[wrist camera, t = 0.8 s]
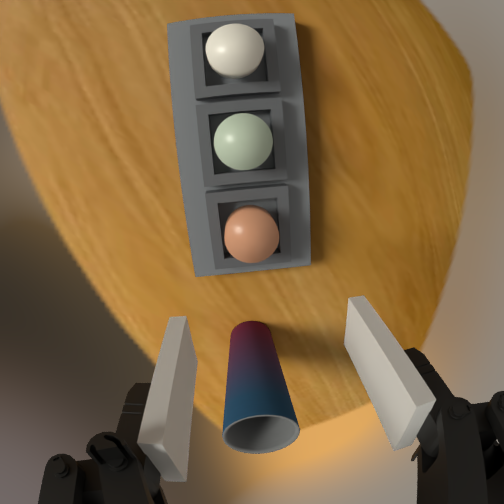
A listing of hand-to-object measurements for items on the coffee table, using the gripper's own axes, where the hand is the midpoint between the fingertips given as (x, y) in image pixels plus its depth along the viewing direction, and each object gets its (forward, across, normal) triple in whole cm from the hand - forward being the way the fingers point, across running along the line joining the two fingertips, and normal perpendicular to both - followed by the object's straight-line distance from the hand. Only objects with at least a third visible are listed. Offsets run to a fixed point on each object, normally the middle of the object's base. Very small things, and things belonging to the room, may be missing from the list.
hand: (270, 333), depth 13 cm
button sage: (+15, 0, +8) cm, 17 cm away
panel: (+19, 0, +8) cm, 21 cm away
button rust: (+15, 0, 0) cm, 15 cm away
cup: (+19, -1, -15) cm, 24 cm away
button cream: (+15, 0, +16) cm, 22 cm away
